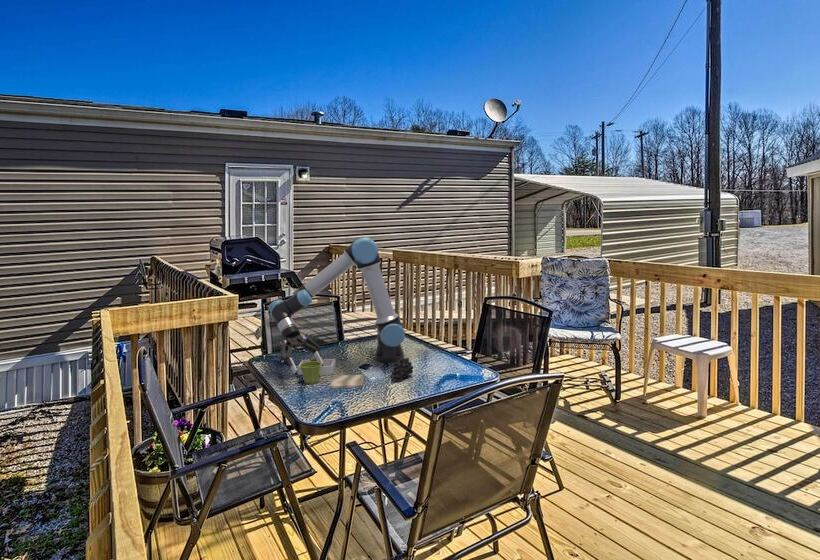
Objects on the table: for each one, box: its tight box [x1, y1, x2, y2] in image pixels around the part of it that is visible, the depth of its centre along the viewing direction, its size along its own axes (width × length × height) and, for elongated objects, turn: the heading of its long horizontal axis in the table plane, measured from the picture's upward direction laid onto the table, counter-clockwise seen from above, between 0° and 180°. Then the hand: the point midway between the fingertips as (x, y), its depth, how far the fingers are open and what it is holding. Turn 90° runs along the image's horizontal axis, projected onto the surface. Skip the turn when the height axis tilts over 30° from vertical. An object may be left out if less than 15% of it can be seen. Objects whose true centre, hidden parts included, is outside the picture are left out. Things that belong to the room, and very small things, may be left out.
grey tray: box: [296, 358, 337, 376], centre depth 232 cm, size 16×12×4 cm
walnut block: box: [309, 355, 324, 366], centre depth 232 cm, size 5×5×6 cm
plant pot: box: [299, 361, 322, 386], centre depth 217 cm, size 9×9×9 cm
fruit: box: [389, 357, 414, 382], centre depth 221 cm, size 9×8×15 cm
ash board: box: [329, 374, 366, 389], centre depth 217 cm, size 14×14×1 cm
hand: (309, 368), depth 216 cm, fingers open, 13 cm apart
